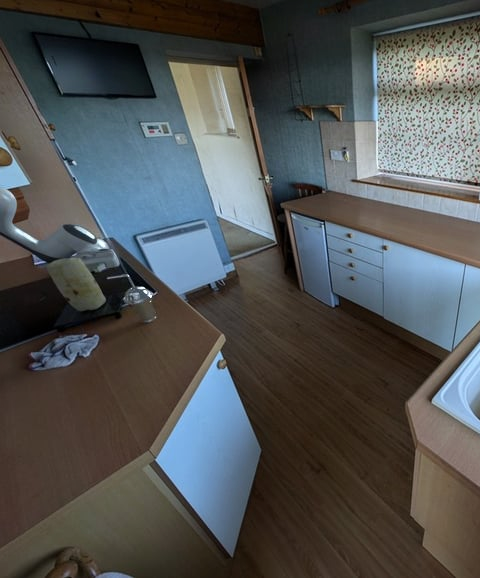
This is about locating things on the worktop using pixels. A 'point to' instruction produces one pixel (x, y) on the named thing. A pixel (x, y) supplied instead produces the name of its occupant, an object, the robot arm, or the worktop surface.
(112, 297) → the low black rectangular block
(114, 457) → the worktop surface
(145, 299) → the cup with straw
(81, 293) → the food model
